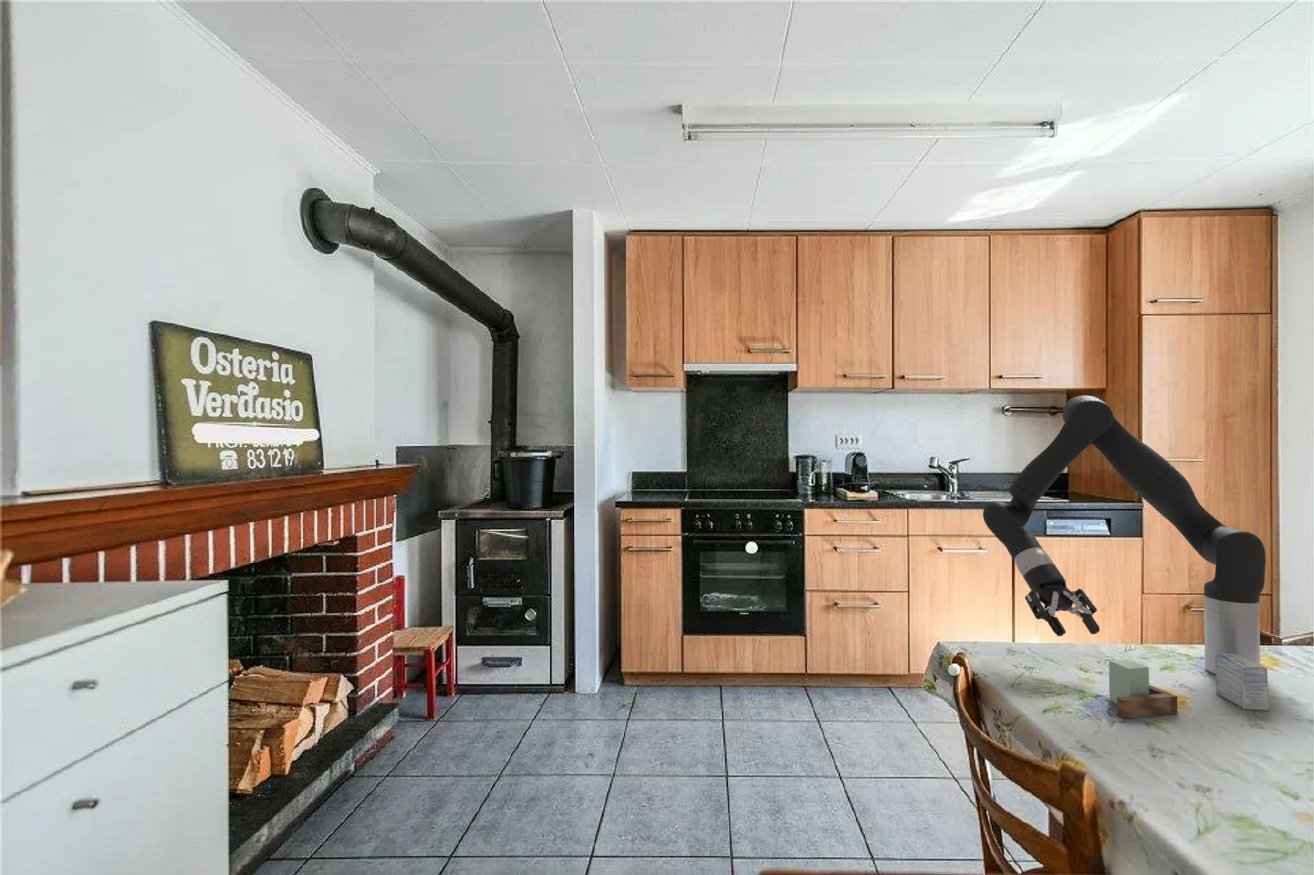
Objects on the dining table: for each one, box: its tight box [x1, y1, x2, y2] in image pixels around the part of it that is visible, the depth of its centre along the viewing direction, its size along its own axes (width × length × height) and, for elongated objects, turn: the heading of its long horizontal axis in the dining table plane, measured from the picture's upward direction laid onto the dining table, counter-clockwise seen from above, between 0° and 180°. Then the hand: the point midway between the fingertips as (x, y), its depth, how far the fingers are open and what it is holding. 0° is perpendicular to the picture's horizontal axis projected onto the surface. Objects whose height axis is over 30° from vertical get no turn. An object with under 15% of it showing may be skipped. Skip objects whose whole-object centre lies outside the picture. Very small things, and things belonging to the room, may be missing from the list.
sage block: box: [1108, 658, 1150, 703], centre depth 123 cm, size 4×4×8 cm
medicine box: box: [1215, 654, 1270, 712], centre depth 123 cm, size 8×4×9 cm, turn 168°
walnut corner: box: [1105, 684, 1179, 720], centre depth 123 cm, size 12×12×4 cm
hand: (1079, 633), depth 134 cm, fingers open, 8 cm apart
